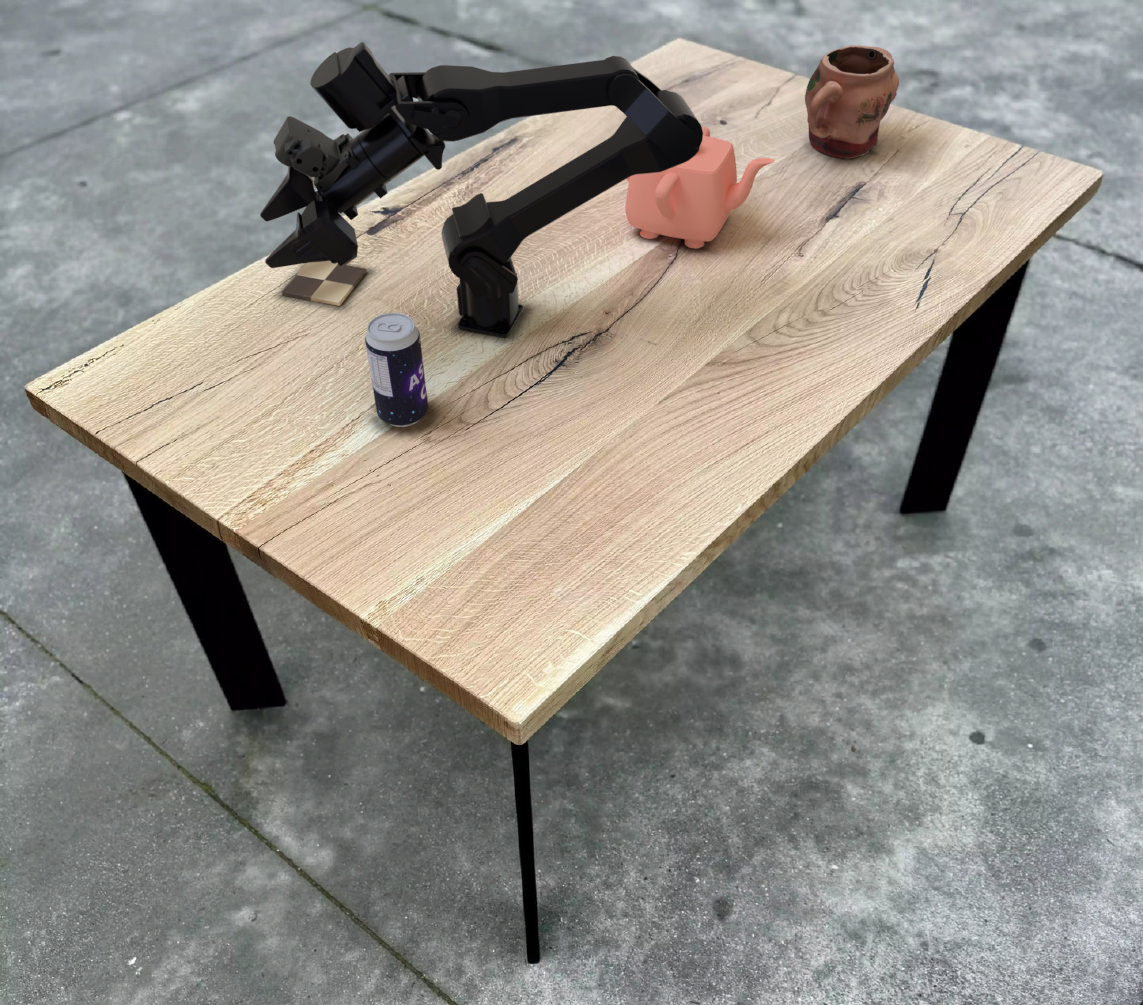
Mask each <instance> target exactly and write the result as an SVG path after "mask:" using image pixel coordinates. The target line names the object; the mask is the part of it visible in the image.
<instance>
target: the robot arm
mask: <svg viewBox="0 0 1143 1005" xmlns="http://www.w3.org/2000/svg"><path fill="white" fill-rule="evenodd" d="M309 85H310V87H311V88H312V89H313V90H314V92H316V94H318V95H319V97H320V98H321V99H322V100H323V101H324V102H325V103H326V105H327V106H328V107H329V108H330V110H332V112H333V113H335V115H336V116H337V117H338V118H339V120H341V122H342V123H343V124H344V125H345V126H346V127H347V128H348V129H350V130H354V129H355V130H357V131H358V132H359V133H358V134H357V135H356V136H355V137H352V136H351V135H350V134H349V133H348V132H347V133H346V134H344V133H342V134H340V135H339V136H338V137H336V138H335V139H333V138H331V137H329V136H327V135H326V134H325V133H324V132H322V131H320V130H319V129H317V128H315V127H312V126H311V125H309V124H307V123H305V122H303V120H299V119H298V118H296V117H294V116H290V115H289V116H287V117H286V118H285V120H284V122H283V123H282V125H281V127H280V129H279V131H278V132H277V134H276V135H275V137H274V138H273V141H272V142H273V145H274V149H275V150H274V151H275V152H274V157H275V159H276V160H277V161H278V162H279V163H281V164H282V165H284V166H286V167H287V173H286V175H285V176H284V178H283V180H282V181H281V183H280V184H279V186H278V187H277V189H276V190H275V192H274V193H273V194H272V196H271V197H270V198H269V200H268V201H267V203H266V204H265V206H264V207H263V209H262V210H261V212H260V213H259V214H260V215H259V216H260V218H261V219H262V220H263V221H265V222H271V221H273V220H276V219H280V218H281V217H285V216H286V215H289V214H291V213H294V212H297V211H298V212H297V213H296V224H295V226H296V227H295V229H294V231H292V232H291V233H290V234H289V236H287V237H286V238H285V239H284V240H283V241H282V242H281V243H280V244H279V245H278V246H277V247H275V249H273V251H272V252H271V253H270V254H269V255H268V256H267V257H266V258H265V260H264V261H265V262H264V263H265V264H266V265H267V266H268V267H269V268H271V269H276V268H283V267H290V266H296V265H302V264H307V263H311V262H324V261H326V262H331V263H333V264H336V263H337V264H339V265H340V266H343V267H344V266H345V265H348V264H349V263H351V262H352V261H354V260H355V259H356V258H358V250H359V244H358V240H357V239H358V238H357V235H356V229H355V228H354V227H353V226H352V225H351V223H349V222H348V221H347V219H346V218H344V216H346V217H347V218H348V219H349V220H350V221H353V220H354V219H355V218H357V217H358V216H359V213H358V208H357V207H359V205H361V204H362V203H364V202H365V201H367V199H369V198H371V197H372V196H373V195H374V194H375V195H376V196H377V197H378V198H379V199H382V198H384V197H385V196H386V195H387V194H389V193H388V189H387V188H388V187H387V185H388V184H389V183H390V182H392V181H393V180H394V179H396V178H397V177H398V176H400V175H402V174H403V173H404V172H405V171H407V170H408V169H409V168H411V167H412V166H413V165H414V164H416V163H417V162H419V161H420V160H421V159H423V158H424V157H425V158H426V159H427V160H428V162H429V163H430V164H431V165H432V166H433V168H434V169H435V170H438V171H439V170H442V168H443V155H444V151H445V149H446V143H445V142H451V143H452V142H458V141H461V140H465V139H468V138H471V137H476V136H478V135H481V134H484V133H486V132H487V131H489V130H491V129H493V128H494V127H495V126H497V125H498V124H500V123H502V122H506V121H509V120H512V119H513V120H514V119H520V118H527V117H535V116H544V115H550V114H551V115H552V114H557V113H566V112H573V111H580V110H589V109H596V108H603V107H611V106H613V107H615V108H617V110H619V111H620V112H622V113H623V114H624V116H626V117H624V119H623V121H622V122H621V123H620V125H619V126H618V128H617V129H616V130H615V132H613V134H612V135H611V136H610V137H608V138H607V139H605V140H604V141H602V142H600V143H599V144H597V145H594V146H593V147H592V148H590V149H589V150H586V151H585V152H584V153H582V154H580V155H578V156H576V157H575V158H573V159H572V160H570V161H568V162H567V163H565V164H563V165H562V166H560V167H558V168H557V169H555V170H554V171H552V172H550V173H548V174H546V175H545V176H543V177H542V178H539V180H537V181H535V182H533V183H531V184H530V185H528V186H526V187H525V188H524V189H521V190H519V191H517V192H516V193H515V194H513V195H511V196H509V197H508V198H505V199H503V200H497V201H487V199H486V197H485V195H484V193H482V192H480V193H478V194H476V195H474V196H473V197H472V198H471V199H469V200H468V201H467V202H466V203H464V204H462V205H459V206H455V207H452V208H451V211H452V214H451V215H449V216H447V218H446V219H445V220H444V221H443V226H442V229H441V240H442V244H443V247H444V248H443V249H444V252H445V256H446V260H447V264H448V268H449V269H450V271H451V273H452V274H453V275H454V276H455V277H456V278H459V279H458V280H459V283H458V284H457V286H456V298H457V310H458V315H459V317H461V318H460V319H459V321H458V322H457V328H458V329H459V330H464V331H470V332H475V333H480V334H485V335H490V336H495V337H501V338H507V337H509V335H510V334H511V332H512V330H513V328H514V327H515V325H516V324H517V322H518V320H519V319H520V317H521V315H522V313H523V312H524V305H523V304H520V303H519V287H518V281H519V277H518V272H516V268H515V265H514V262H513V259H512V257H513V256H514V254H515V253H516V251H517V250H518V248H519V247H520V246H521V244H522V243H523V241H524V240H525V239H527V238H528V237H530V236H531V235H533V234H535V233H536V232H538V231H540V230H541V229H544V228H545V227H547V226H548V225H550V224H552V223H554V222H556V221H557V220H559V219H561V218H562V217H564V216H566V215H567V214H569V213H571V212H572V211H574V210H575V209H577V208H579V207H581V206H583V205H584V204H586V203H588V202H589V201H591V200H593V199H594V198H597V197H598V196H599V195H601V194H603V193H605V192H606V191H608V190H610V189H611V188H613V187H615V186H617V185H618V184H620V183H622V182H624V181H625V180H627V178H628V177H630V176H633V175H637V174H647V173H658V172H662V171H665V170H667V169H670V168H672V167H675V166H677V165H680V164H683V163H685V162H687V161H689V160H690V159H691V158H693V157H694V156H695V155H696V154H697V153H698V152H699V147H700V145H701V142H702V139H703V131H702V127H703V126H702V124H701V123H700V121H699V120H698V119H697V116H696V115H695V114H694V112H693V111H692V110H691V107H689V105H688V103H687V102H686V101H685V98H684V97H683V96H682V95H680V94H679V93H678V92H676V91H675V92H674V91H671V90H667V89H661V88H660V87H658V85H656V84H655V82H653V81H652V80H651V79H650V78H648V77H647V76H646V75H645V74H643V73H641V72H640V71H638V70H637V69H636V68H634V66H632V64H631V63H630V61H628V59H626V58H625V57H623V56H619V55H611V56H608V57H606V58H605V59H600V60H599V59H598V60H591V61H585V62H576V63H575V62H574V63H568V64H559V65H552V66H543V67H536V68H528V69H521V70H513V71H505V72H502V71H490V70H486V69H482V68H479V67H475V66H471V65H470V66H468V65H450V64H449V65H448V64H442V65H441V64H440V65H437V66H433V67H431V68H429V69H427V70H426V71H420V72H419V71H417V72H416V71H415V72H414V71H413V72H412V71H411V72H390V73H389V74H388V73H387V71H385V69H384V68H383V67H382V66H381V64H380V63H379V62H378V61H377V60H376V58H375V56H374V54H373V52H372V50H371V49H370V47H369V46H367V43H365V42H364V41H360V42H359V43H358V44H357V45H355V46H354V47H349V46H348V47H345V48H342V49H341V50H339V51H338V52H336V51H334V52H333V53H331V54H329V56H328V57H326V58H325V59H324V60H323V61H322V62H321V63H320V64H319V65H318V67H317V68H316V69H315V71H314V72H313V74H312V75H311V77H310V82H309ZM414 99H416V100H415V101H414ZM301 209H303V211H302V213H300V212H299V210H301ZM341 214H344V216H342V215H341Z"/></svg>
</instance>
